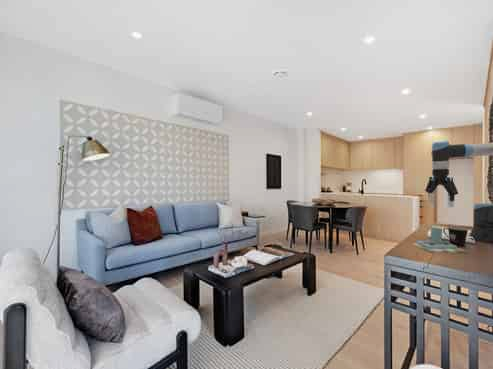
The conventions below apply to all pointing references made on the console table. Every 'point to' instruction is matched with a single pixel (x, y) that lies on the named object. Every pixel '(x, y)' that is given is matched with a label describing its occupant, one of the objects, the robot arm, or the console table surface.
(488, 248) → the console table surface
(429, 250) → the boss board
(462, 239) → the coffee mug
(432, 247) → the panel
